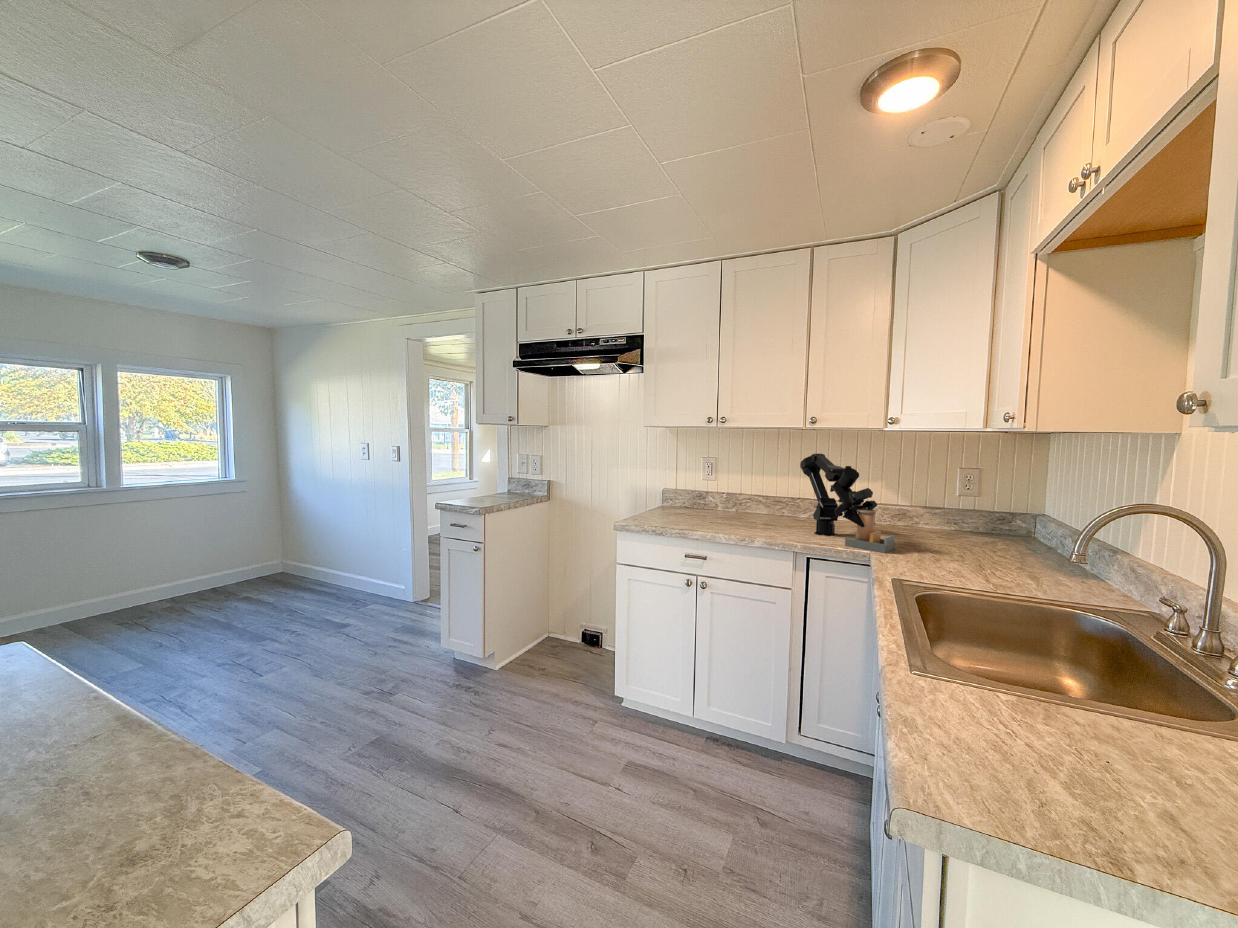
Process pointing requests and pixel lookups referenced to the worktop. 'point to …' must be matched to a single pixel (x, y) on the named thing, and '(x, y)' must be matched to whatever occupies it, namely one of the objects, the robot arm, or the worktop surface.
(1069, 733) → the worktop surface
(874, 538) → the block
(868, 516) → the terracotta jar
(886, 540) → the tray
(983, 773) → the worktop surface
